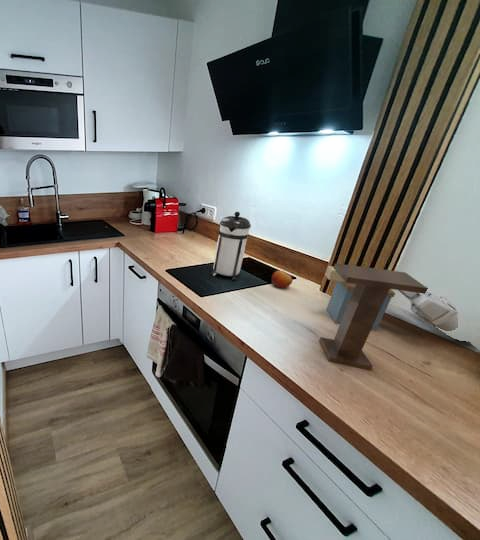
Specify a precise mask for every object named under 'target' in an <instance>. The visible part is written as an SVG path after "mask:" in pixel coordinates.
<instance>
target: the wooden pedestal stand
mask: <svg viewBox="0 0 480 540" xmlns="http://www.w3.org/2000/svg"><path fill="white" fill-rule="evenodd" d="M333 267H334V269H335V270H336V272H337V273H338V274H339V275H340V276H341V277H342V279H343V280H344V281H345V282H348V283H355V284H356V286H355V288H354V291H353V293H352V296H351V298H350V301H349V303H348V306H347V308H346V311H345V313H344V316H343V318H342V321H341V323H340V324H339V326H338V328H337V331H336V333H335V336H334V339H332V338H327V337H322V336H320V337H319V340H318V342H319V344H320V346H321V348H322V350H323V353H324V355H325V357H326V359H327V361H328V362H331V363H335V364H339V365H344V366H348V367H353V368H357V369H362V370H367V371H371V370H372V368H373V365H372V363H371V362H370V360H369V358H368V357H367V356H366V354H365V352H364V351H363V349H364V347H365V344H366V342H367V341H368V340H367V339H368V337H369V335H370V334H371V331H372V330H371V329H372V327H373V324H374V322H375V320H376V318H377V316H378V313H379V311H380V309H381V307H382V305H383V303H384V300H385V298H386V296H387V294H388V292H389V289H391V290H395V291H398V290H402V291H409V292H416V293H423V294H425V293H426V291H427V289H428V288H427V286H425V285H424V284H422V283H421V282H420V281H418V280H417V279H415V278H414V277H413V276H411V275H410V274H408V273H407V272H403V271H398V270H390V269H383V268H382V269H381V268H374V267H366V266H359V265H351V264H343V263H334V265H333Z"/></svg>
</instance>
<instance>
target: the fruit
mask: <svg viewBox="0 0 480 540" xmlns="http://www.w3.org/2000/svg"><path fill="white" fill-rule="evenodd" d="M292 283H293V278H292V276H291V275H290V274H289V273H287V272H286V271H284V270H275V271H274V272H273V274H272V276H271V284H273V286H272V288H275V287H277V288H281V289H287V288H289V286H291V285H292Z"/></svg>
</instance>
